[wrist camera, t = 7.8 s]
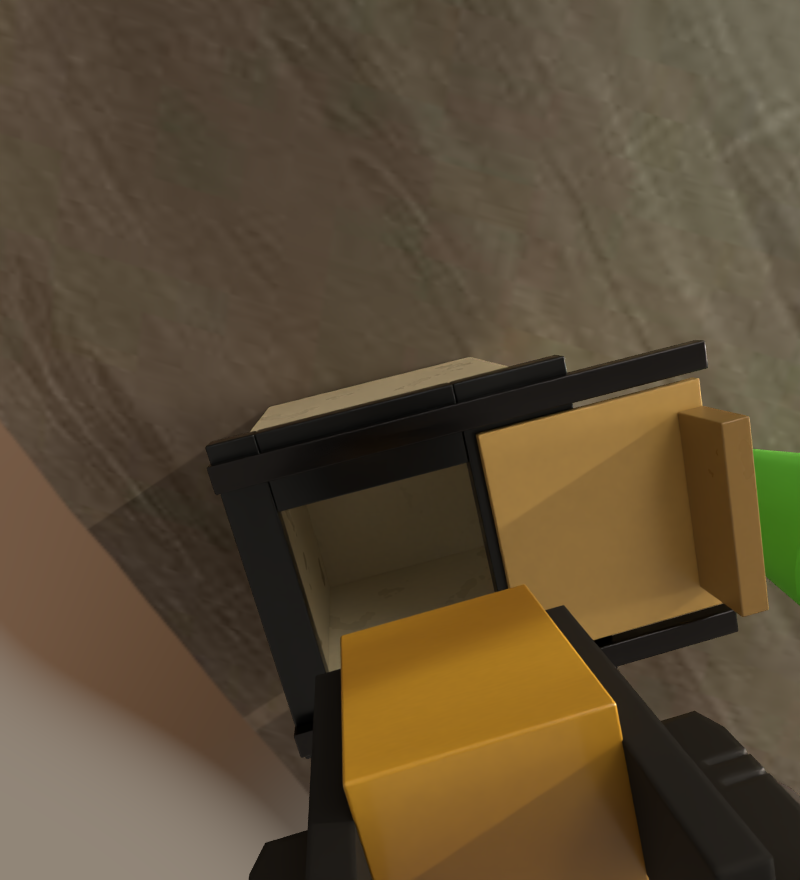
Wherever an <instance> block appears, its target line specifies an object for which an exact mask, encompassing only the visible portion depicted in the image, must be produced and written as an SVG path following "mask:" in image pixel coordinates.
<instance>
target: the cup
mask: <svg viewBox="0 0 800 880" xmlns="http://www.w3.org/2000/svg"><path fill="white" fill-rule="evenodd" d="M753 457H754V467H755V477H756V487H757V497H758V507H759V517H760V527H761V537H762V547H763V557H764V567H765V576H766V577H767V578H768V579H770V580H771V581H772V582H773V583H774V584H775V585H776V586H778V587H779V588H780V589H781V590H782V591H783V592H785V593H786V594H787V595H788V596H789V597H790V598H791V599H793V600H794V601H795V602H796V603H797V604H798V605H800V453H792V452H780V451H769V450H758V449H753Z"/></svg>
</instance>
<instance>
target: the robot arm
mask: <svg viewBox="0 0 800 880" xmlns="http://www.w3.org/2000/svg"><path fill="white" fill-rule="evenodd" d="M545 611H546V612H547V614H548V615H549V616H550V618H551V619H552V620H553V622H554V623H555V624H556V626H557V627H558V628H559V629H560V631H561V632H562V633H563V635H564V636H565V637H566V639H567V640H568V641H569V643H570V644H571V645H572V646H573V648H574V649H575V650H576V652H577V653H578V654H579V656H580V657H581V658H582V660H583V661H584V662H585V663H586V665H587V666H588V667H589V669H590V670H591V671H592V673H593V674H594V675H595V677H596V678H597V679H598V680H599V682H600V683H601V684H602V686H603V687H604V688H605V690H606V691H607V692H608V694H609V695H610V696H611V697H612V699H613V700H614V701H615V703H616V705H617V710H618V716H619V721H620V726H621V732H622V737H623V740H622V744H623V750H624V755H625V760H626V766H627V771H628V776H629V782H630V787H631V792H632V798H633V803H634V809H635V814H636V819H637V825H638V830H639V835H640V841H641V846H642V851H643V857H644V862H645V868H646V873H647V876H648V877H649V879H650V880H800V804H799V803H798V802H797V801H796V800H795V799H794V798H793V797H792V796H791V795H790V794H789V793H788V792H787V791H786V790H785V789H784V788H783V787H782V786H781V785H780V784H779V783H778V782H777V781H776V780H775V779H774V778H773V777H772V776H771V775H770V774H769V773H768V774H767V773H766V771H765V769H764V767H763V766H762V765H761V764H760V763H759V762H758V761H757V760H756V759H755V758H754V757H753V756H752V755H751V754H748V753H747V752H746V749H745V748H744V747H743V746H742V745H741V744H740V743H739V742H738V741H737V740H736V739H735V738H734V737H733V736H732V735H731V734H730V733H729V732H728V731H727V730H726V729H725V728H724V727H723V726H721V725H720V724H718V723H716V722H714V721H712V720H710V719H709V718H707V717H705V716H703V715H701V714H699V713H698V712H696V711H693V712H690V713H686V714H683V715H680V716H676V717H673V718H670V719H666V720H663V721H660V720H659V719H658V718H657V716H656V715H655V714H654V713H653V712H652V710H651V709H650V708H649V707H648V706H647V704H646V703H645V702H644V701H643V700H642V698H641V697H640V696H639V695H638V694H637V692H636V691H635V690H634V689H633V688H632V686H631V685H630V684H629V683H628V682H627V680H626V679H625V678H624V677H623V676H622V674H621V673H620V672H619V671H618V669H617V668H616V667H615V666H614V665H613V663H612V662H611V661H610V660H609V659H608V657H607V656H606V655H605V654H604V653H603V651H602V650H601V649H600V648H599V647H598V645H597V644H596V643H595V642H594V641H593V639H592V638H591V637H590V636H589V635H588V633H587V632H586V631H585V630H584V629H583V627H582V626H581V625H580V624H579V622H578V621H577V620H576V619H575V618H574V616H573V615H572V614H571V613H570V612H569V610H568V609H567V608H566V607H565V606H564V605H562V606H558V607H555V608H551V609H548V610H545ZM249 880H372V877H371V874H370V871H369V867H368V864H367V861H366V858H365V854H364V851H363V848H362V845H361V841H360V838H359V835H358V832H357V828H356V825H355V822H354V820H353V818H352V815H351V811H350V808H349V805H348V802H347V798H346V795H345V792H344V789H343V775H342V715H341V669H338V670H334V671H331V672H327V673H324V674H320V675H317V676H316V679H315V698H314V718H313V737H312V757H311V776H310V796H309V815H308V830H307V831H303V832H300V833H296V834H293V835H290V836H287V837H283V838H280V839H277V840H273V841H270V842H267V843H265V845H264V847H263V849H262V850H261V852H260V854H259V856H258V858H257V860H256V862H255V864H254V866H253V868H252V870H251V872H250V874H249Z"/></svg>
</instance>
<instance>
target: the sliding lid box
mask: <svg viewBox="0 0 800 880" xmlns="http://www.w3.org/2000/svg"><path fill="white" fill-rule="evenodd" d="M706 368H708V362H707V353H706V345H705V341H702V340H693V341H690V342H686V343H682V344H678V345H674V346H670V347H666V348H662V349H658V350H654V351H650V352H646V353H642V354H639V355H635V356H631V357H627V358H623V359H619V360H615V361H611V362H607V363H603V364H599V365H595V366H591V367H588V368H584V369H580V370H576V371H572V372H568V373H567V369H566V363H565V358H564V356H559V355H553V356H549V357H545V358H541V359H537V360H533V361H529V362H525V363H521V364H517V365H513V366H509V367H508V366H504V365H500V364H496V363H492V362H488V361H484V360H479V359H475V358H472V357H467V358H463V359H459V360H455V361H451V362H447V363H443V364H439V365H435V366H431V367H427V368H423V369H419V370H415V371H411V372H407V373H403V374H399V375H395V376H391V377H387V378H383V379H379V380H375V381H371V382H367V383H363V384H359V385H355V386H351V387H347V388H344V389H340V390H336V391H332V392H328V393H324V394H320V395H316V396H312V397H308V398H304V399H300V400H296V401H292V402H288V403H284V404H280V405H276V406H272V407H269V408H268V409H267V410H266V412H265V413H264V414H263V416H262V417H261V418H260V419H259V421H258V422H257V423H256V424H255V426H254V427H253V428H252V430H251V431H250V432H248V433H244V434H240V435H236V436H232V437H228V438H224V439H220V440H216V441H212V442H210V443H209V444H208V445H207V446H206V451H207V454H208V458H209V461H210V465H209V466H208V467H207V471H208V474H209V477H210V480H211V483H212V486H213V489H214V492H215V494H216V495H219V494H220V495H221V498H222V501H223V504H224V507H225V510H226V513H227V516H228V519H229V523H230V526H231V529H232V532H233V535H234V538H235V541H236V544H237V547H238V550H239V553H240V557H241V560H242V563H243V566H244V569H245V572H246V575H247V578H248V581H249V584H250V587H251V591H252V594H253V597H254V600H255V603H256V606H257V609H258V612H259V615H260V618H261V622H262V625H263V628H264V631H265V634H266V637H267V640H268V643H269V646H270V649H271V652H272V656H273V659H274V662H275V665H276V668H277V671H278V674H279V677H280V680H281V683H282V686H283V690H284V693H285V696H286V699H287V702H288V705H289V708H290V711H291V714H292V717H293V721H294V724H295V733H294V738H295V741H296V744H297V747H298V751H299V754H300V756H301V758H303V757H306V759H309V758H311V757H312V737H313V718H314V698H315V679H316V676H317V675H320V674H324V673H327V672H331V671H334V670H338V669H341V656H340V638H341V636H343V635H346V634H350V633H353V632H357V631H360V630H364V629H367V628H371V627H374V626H378V625H381V624H385V623H389V622H392V621H396V620H399V619H403V618H406V617H410V616H413V615H417V614H420V613H424V612H427V611H431V610H434V609H438V608H442V607H445V606H449V605H452V604H456V603H459V602H463V601H466V600H470V599H473V598H477V597H480V596H484V595H488V594H491V593H495V592H498V591H502V590H505V589H508V585H507V580H506V575H505V571H504V566H503V561H502V556H501V552H500V547H499V542H498V537H497V533H496V528H495V523H494V519H493V514H492V509H491V504H490V500H489V495H488V490H487V486H486V481H485V476H484V471H483V467H482V462H481V457H480V453H479V448H478V443H477V438H476V434H477V433H480V432H484V431H488V430H492V429H496V428H500V427H504V426H507V425H511V424H515V423H519V422H523V421H527V420H531V419H534V418H538V417H542V416H546V415H550V414H554V413H558V412H561V411H565V410H569V409H573V404H572V403H575V402H578V401H582V400H586V399H590V398H594V397H598V396H602V395H606V394H609V393H613V392H617V391H621V390H625V389H629V388H633V387H636V386H640V385H644V384H648V383H652V382H656V381H660V380H664V379H667V378H671V377H675V376H679V375H683V374H687V373H691V372H694V371H698V370H702V369H706ZM737 631H738V624H737V615H736V612H735V611H734V610H732V609H731V608H729V607H728V606H727V605H725V604H721V605H718V606H714V607H711V608H707V609H704V610H700V611H697V612H693V613H690V614H686V615H683V616H679V617H676V618H672V619H669V620H665V621H662V622H658V623H655V624H651V625H648V626H644V627H641V628H637V629H634V630H630V631H627V632H623V633H620V634H616V635H613V636H612V635H610V636H606V637H603V638H599V639H596V640H593V641H594V642H595V643H596V644H597V645H598V647H599V648H600V649H601V650H602V651H603V653H604V654H605V655H606V656H607V657H608V659H609V660H610V661H611V662H612V663H613V665H614V666H615V667H616V668H617V666H620V665H624V664H627V663H631V662H634V661H638V660H641V659H645V658H648V657H652V656H655V655H658V654H662V653H665V652H669V651H672V650H676V649H679V648H683V647H686V646H690V645H693V644H696V643H700V642H703V641H707V640H710V639H714V638H717V637H721V636H724V635H728V634H731V633H734V632H737Z"/></svg>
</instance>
